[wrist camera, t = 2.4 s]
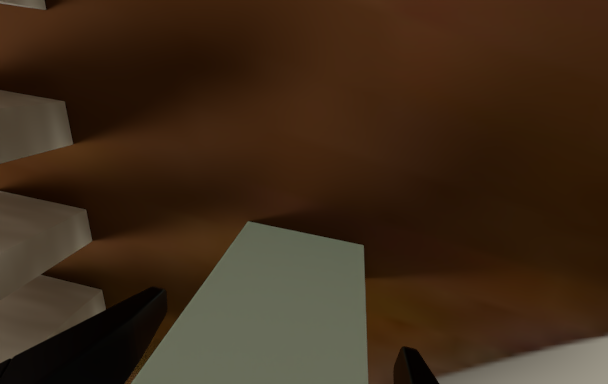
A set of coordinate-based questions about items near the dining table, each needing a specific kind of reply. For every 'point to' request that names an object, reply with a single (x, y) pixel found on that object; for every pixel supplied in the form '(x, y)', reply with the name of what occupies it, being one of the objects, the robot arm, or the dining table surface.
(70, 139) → the domino
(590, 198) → the dining table surface
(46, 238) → the domino
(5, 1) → the domino
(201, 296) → the green domino
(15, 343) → the domino
